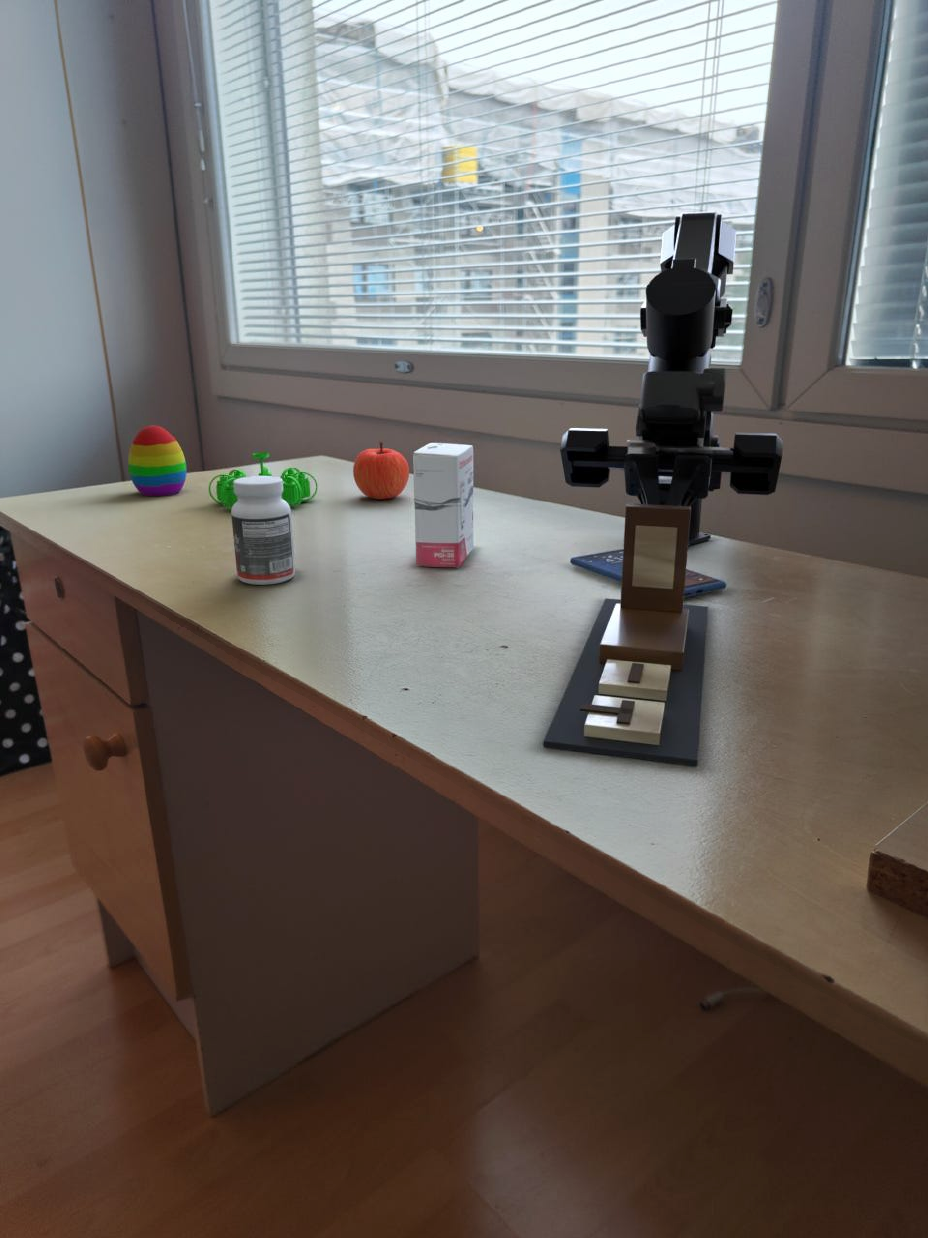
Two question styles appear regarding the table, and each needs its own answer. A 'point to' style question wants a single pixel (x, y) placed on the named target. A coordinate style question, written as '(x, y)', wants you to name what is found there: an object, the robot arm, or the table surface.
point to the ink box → (443, 504)
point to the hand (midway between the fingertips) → (659, 542)
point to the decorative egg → (156, 462)
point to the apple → (380, 473)
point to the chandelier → (293, 484)
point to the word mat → (634, 701)
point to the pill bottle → (262, 531)
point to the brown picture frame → (651, 588)
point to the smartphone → (612, 568)
